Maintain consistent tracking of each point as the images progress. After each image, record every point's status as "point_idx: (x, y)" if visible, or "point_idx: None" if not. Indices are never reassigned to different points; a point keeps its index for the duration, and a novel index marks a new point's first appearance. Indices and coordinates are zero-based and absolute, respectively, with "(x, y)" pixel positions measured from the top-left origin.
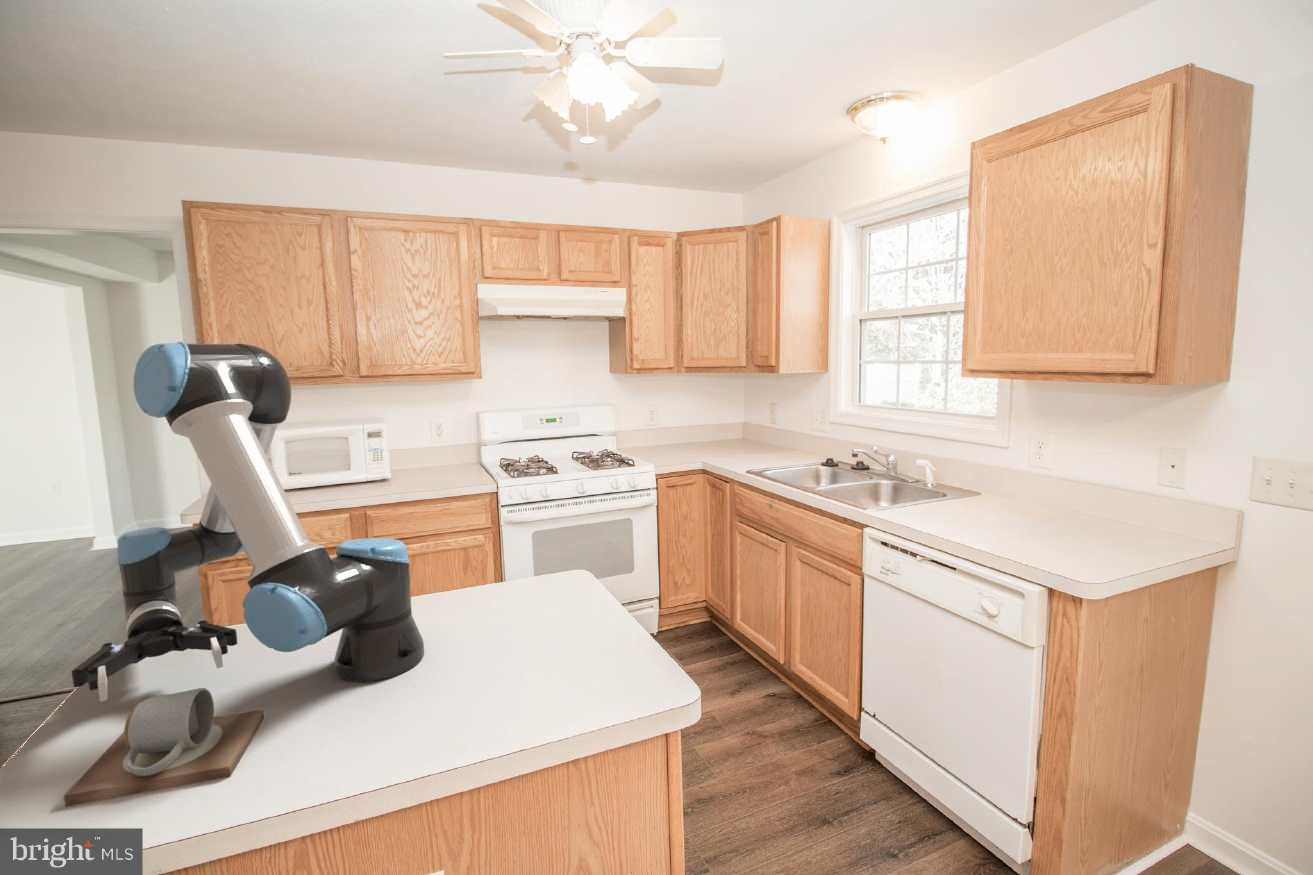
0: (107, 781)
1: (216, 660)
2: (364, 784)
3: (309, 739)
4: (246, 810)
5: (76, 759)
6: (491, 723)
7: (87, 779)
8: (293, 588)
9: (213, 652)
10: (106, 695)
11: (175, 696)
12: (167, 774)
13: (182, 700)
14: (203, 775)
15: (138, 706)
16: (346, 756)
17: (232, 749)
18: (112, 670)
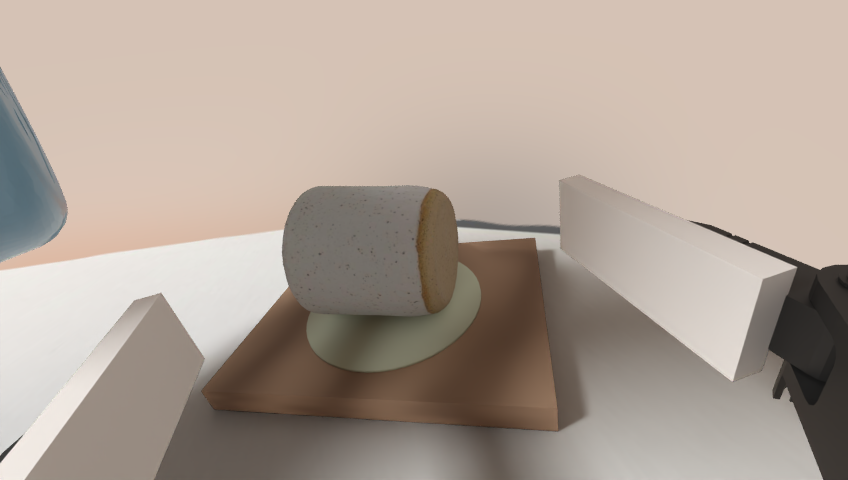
0: (481, 252)
1: (184, 328)
2: (215, 241)
3: (201, 313)
4: None
5: (650, 374)
6: (38, 292)
7: (521, 259)
8: None
9: (131, 422)
10: (560, 232)
11: (346, 190)
12: None
13: (335, 186)
14: None
15: (424, 189)
16: (195, 274)
17: None
18: (836, 461)
